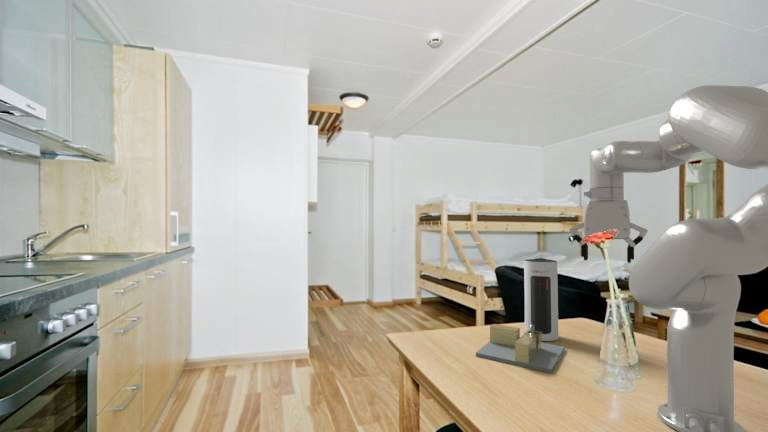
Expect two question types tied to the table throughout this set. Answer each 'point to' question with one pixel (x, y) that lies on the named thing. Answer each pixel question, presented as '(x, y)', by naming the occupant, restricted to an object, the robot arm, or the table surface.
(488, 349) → the grey base plate
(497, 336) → the fixed leaf
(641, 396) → the table surface
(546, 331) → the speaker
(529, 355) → the beige block
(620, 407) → the table surface
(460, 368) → the table surface
